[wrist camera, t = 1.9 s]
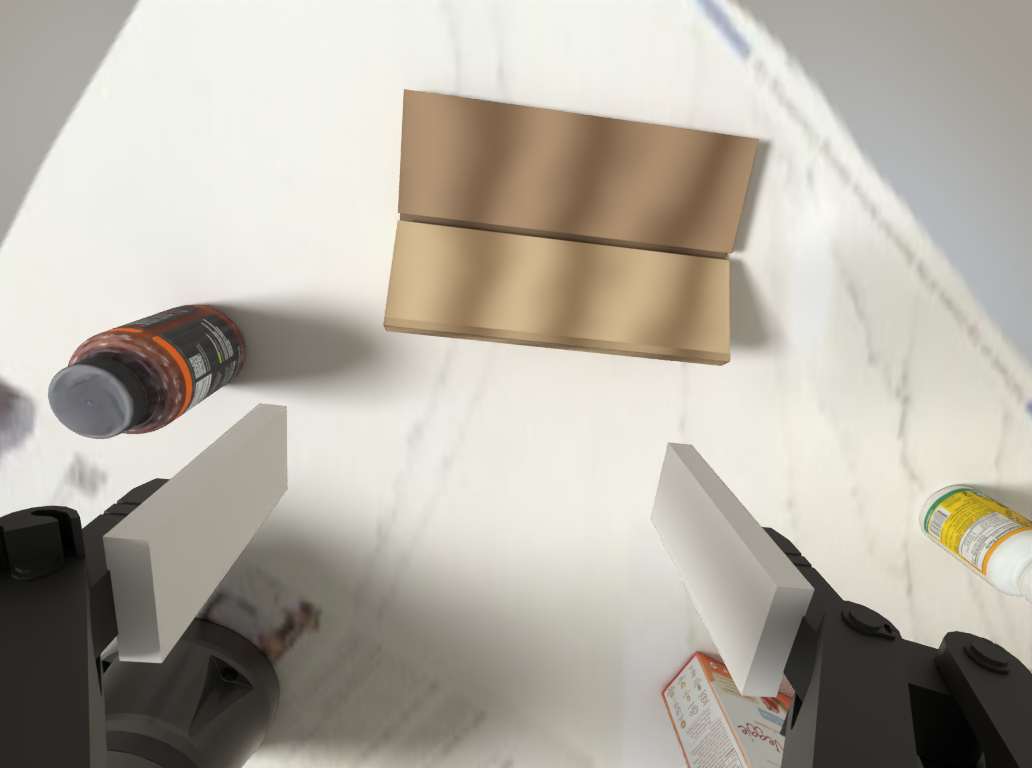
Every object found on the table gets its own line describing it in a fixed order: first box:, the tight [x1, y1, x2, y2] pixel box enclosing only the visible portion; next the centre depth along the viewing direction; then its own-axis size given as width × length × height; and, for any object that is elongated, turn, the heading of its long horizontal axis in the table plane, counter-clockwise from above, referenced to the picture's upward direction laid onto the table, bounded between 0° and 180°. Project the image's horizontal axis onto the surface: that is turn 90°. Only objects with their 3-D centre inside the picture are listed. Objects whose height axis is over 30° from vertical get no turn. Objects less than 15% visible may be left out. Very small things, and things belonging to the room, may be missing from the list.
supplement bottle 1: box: [48, 305, 245, 439], centre depth 32 cm, size 6×6×11 cm
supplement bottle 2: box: [919, 486, 1032, 603], centre depth 40 cm, size 5×5×10 cm
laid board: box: [398, 89, 759, 260], centre depth 34 cm, size 22×8×1 cm, turn 83°
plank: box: [384, 220, 730, 366], centre depth 35 cm, size 22×7×1 cm, turn 83°
